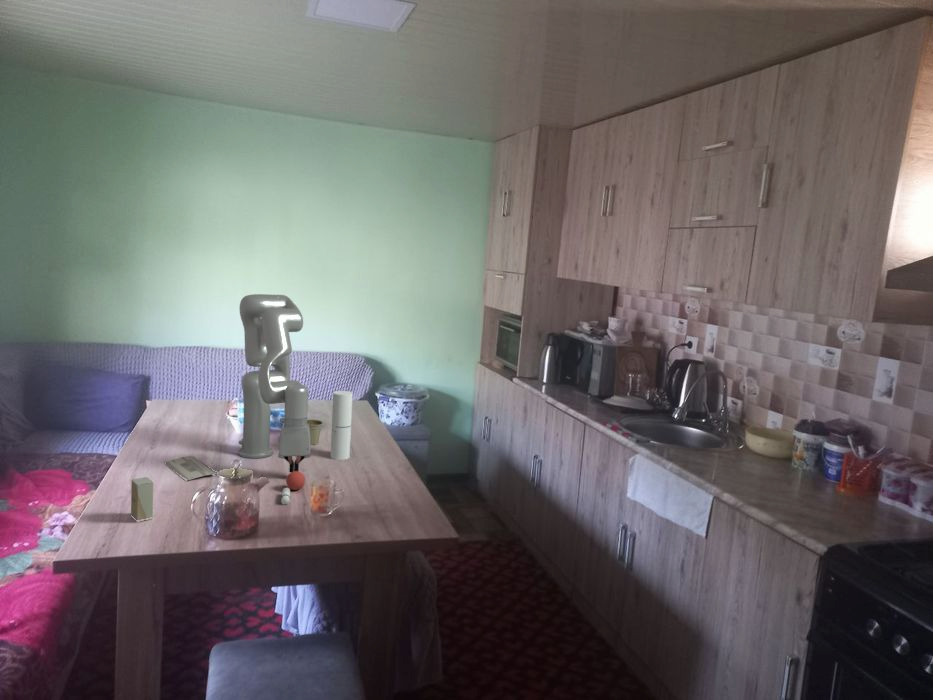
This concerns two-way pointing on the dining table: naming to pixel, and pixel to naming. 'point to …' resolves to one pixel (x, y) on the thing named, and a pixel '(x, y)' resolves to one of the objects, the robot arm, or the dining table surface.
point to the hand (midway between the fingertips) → (293, 474)
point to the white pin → (285, 496)
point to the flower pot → (314, 430)
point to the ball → (295, 480)
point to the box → (141, 498)
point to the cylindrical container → (341, 425)
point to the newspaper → (190, 467)
